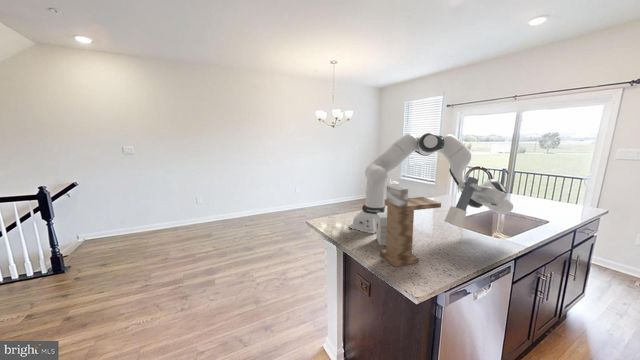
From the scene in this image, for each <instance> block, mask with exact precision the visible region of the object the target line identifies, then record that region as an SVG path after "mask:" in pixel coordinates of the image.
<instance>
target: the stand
mask: <svg viewBox="0 0 640 360" xmlns="http://www.w3.org/2000/svg"><path fill="white" fill-rule="evenodd" d="M385 195H386V197H385V198H386V199H385V202H384V206H385V205H386V207H387V208H386V209H387V210H386V213H387V236H386V245H385V249H380V250H379V255H380V256H381V257H382V258H383V259H385V260H386V261H387V262H388V263H389V264H391V265H392V267H394V268H395V267H399V266H400V267H401V266H406V265H413V264H418V263H419V260H420V259H419V257H417V256H416V255H414V254H413V241H414V240H413V238H414V237H413V236H414V218H415V217H414V215H415V213H414V212H415V211H418V210H419V211H421V210H429V209H437V208H438V209H439V208H441V207H442V202H440V201H437V200H433V199H430V198H427V197H425V196H422V197H421V196H418V197H417V196H416V197H409V189H408V188H407V187H403V186H400V185H399V186H396V185H389V184H388V185H386V194H385Z"/></svg>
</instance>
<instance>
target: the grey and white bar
mask: <svg viewBox="0 0 640 360" xmlns="http://www.w3.org/2000/svg"><path fill="white" fill-rule="evenodd" d="M478 182H479V179H478V178H476V177H472V176H468V178H467V179H466V184H465V187H464V189H463V191H462V192H461V194H460V196H459V199H458V202H457V204H456V205H455V206H452V205H450V207H449V209H448V211H447V213H446V216H445V218H444V220H443V221H444V222H445V223H448V224H450V225H453V226H455V227H458V228H461V227H462V223H463V222H464V219H465V217H466V214H467V213H468V211H467V208H468V206H469V204H468V203H469V201H470V199H471V196H472V194H473V192H474V190H475V189H474V188H472V187H470V185H471V183H474V184H476V185H478Z"/></svg>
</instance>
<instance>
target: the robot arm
mask: <svg viewBox="0 0 640 360" xmlns="http://www.w3.org/2000/svg"><path fill="white" fill-rule="evenodd" d="M435 152H438V153H439V154H441V155H443V156H444V158H445V159H446V161H448V163H449V166H450V167H449V168H448V171H449V173H450V175H451V177H452V179H453V180H454V182H455V185H457V186H456V187H457V190H459V191H460V192H461V193H462V191H463V189H464V187H465V184H466V182H467V180H465V178H464V177H463V173H464V171H465V169H466V168H467V167H468V165H469V164H470V162H471V160H472V153H471V151H470V150H469V148H468V147H467V146H466V145H465V144H464V143H463V141H461V140H459V139H458V138H457V137H456V136H455V135H453V134H450V133H448V134H444V135H440V134H436V133H433V132H427V133H425V134H422V135H421V136H420V137H417V136H416V135H414V134H413V133H406V134H404V135H402V136H400V138H398V139H397V140H396V141H395V142H394V143H392V144H391V145H390V146H389V147H388V148H387V149H386V150H385V151H384V152H383V153H382V154H381V155H379V156H378V157H377V158H376V159H374V160H373V161H372V162H371V163H370V164H369V165H367V166H366V168H365V170H364V175H365V178H366V190H365V203H364V204H363V205H362V207H361V210H362V211H360V212H359V213H356V214H355V216H354V217H353V218H352V221H351V222H350V223H349V226H348V228H349V227H350V228H352V229H351V230H354V229H356V230H355V231H358V230H360V232H363V231H364V232H363V233H368V234H374V233H377V213H380V212H381V213H386V206H385V200H386V199H385V198H386V197H385V195H386V190H387V181H388V174H389V173H390V172H391V171H393V170H394V169H396V168H397V167H399V166H400V164H402V163H403V162H404V161H405V160H406V159H407V158H408V157H409V156H410V155H412V154H413V153H417V154H418V155H420V156H430V155H432V154H434V153H435ZM470 187H472V188H474V189H475V190H474V192H473V194H472V196H471V199H470V201H469V203H468V206H469V207H472V208H476V209H480V208H481V207H483V206H484V207H486V208H488V209H489V210H490V211H492V212H494V213H496V214H498V215H502V216H503V215H505V216H506V215H507V214H509V213H511V212H512V211H513V210H514V204H513V203H512V201H510V200H509V199H508V197H507V195H508V192H507V189H506V187H505V186H504V185H503V184H502V183H501V182H500V181H498V180H497V179H493V178H491V179H487V180H486V181H484V182H483V183H481V184H479V185H478V184H477V185H476V184H474V183H471V185H470ZM350 228H349V229H350Z"/></svg>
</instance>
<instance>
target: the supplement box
mask: <svg viewBox="0 0 640 360" xmlns="http://www.w3.org/2000/svg"><path fill="white" fill-rule="evenodd" d="M386 236H387V212H385V213H381V212H380V213H377V232H376V236H375V237H376V241H377V243H378V245H379V246H386Z"/></svg>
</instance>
